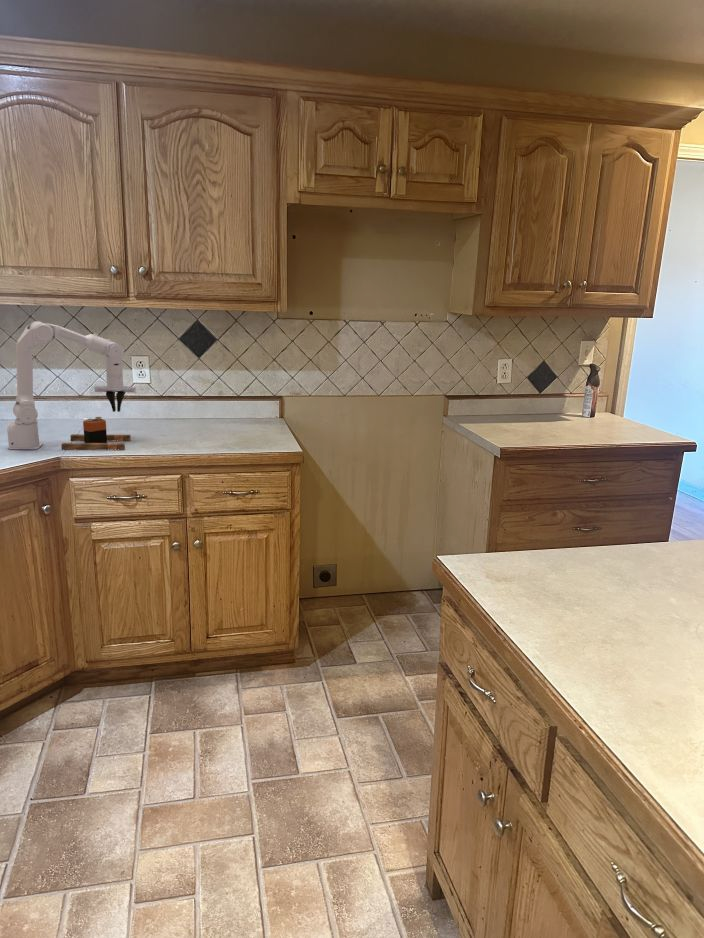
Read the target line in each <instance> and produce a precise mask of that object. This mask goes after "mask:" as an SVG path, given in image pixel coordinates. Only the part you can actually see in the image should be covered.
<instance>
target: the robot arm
mask: <svg viewBox="0 0 704 938" xmlns="http://www.w3.org/2000/svg"><path fill="white" fill-rule="evenodd" d="M60 338H63V339H67V340H68V341H72V342H75V343H78V344H82V345H83V347H84V349H85V350H88V351H90V352H94V353H97V354H99V355H102V356H103V355H104V356H105V371H106V372H105V373H106V385H97V386H96V385H95V386H94V389H93V390H94V393H106V394H105V395H106V398H107V399H108V401H109V403H110V406H111V409H112V412H114V413H115V412H116V411H117V413H120V412H121V407H122V403H123V399H124V397H125V395H126V393H133V394H136V392H137V386H127V385H124V372H123V357H124V354H125V350H124V348H123V346H122V345H121V344H119V343H118V342H114V341H113V340H111V339H109V338H107V339H106V338H103V337H100V336H99V334H97V333H93V334H92V333H89V334H87V335H83V334H82V333H79V332H77V331H73V330H72V329H71V330H70V329H68V328H66V327H63V326H60V325H56V324H53V323H52V324H51V323H48V322H47V323H46V322H45V323H44V322H43V321H39V320H36V321H32V322H31V323H30V324H28V325H26V326H25V328H24V331H23V332H22V333H21V335H20V336H19V337H18V340H17V341H16V343H15V347H16V352H15V353H16V385H17V386H16V391H17V394H16V397H15V403H14V406H13V408H12V411H13V412H12V413H13V415H15V417H16V418H15V420H14V421H12V422H8V424H7V430H6V431H7V439H8V440H7V441H8V450H38V449H40V447H42V446H43V444H44V442H40V437H39V436H40V435H39V424H38V423H39V422H38V416H39V414H38V410H37V409H36V406H35V405H36V404H35V400H34V381H33V380H34V379H33V369H34V368H33V351H34V350H35V349H36V348H38V347H39V346H40V345H42V344H45V343H48V342H50V341H52V339H55V340H56V339H60ZM115 399H116V400H115Z"/></svg>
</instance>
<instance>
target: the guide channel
mask: <svg viewBox="0 0 704 938" xmlns="http://www.w3.org/2000/svg"><path fill="white" fill-rule="evenodd" d="M69 437H70V442H62V443H61V450H63V449H64V450H65V451H88V450H89V449H92V450H91V451H94V450H93V449H106V450H105V451H111V450H110V449H113V450H112V451H125V449H126V447H125V445H126V444H125V443H123V442H131V434H107V440H116V441H115V443H114V442H107V443H84V433H81V434H79V433H77V434H75V433H74V434H70V436H69ZM75 440H80V441H79V442H76V441H75ZM117 440H118V441H117ZM118 442H120V443H118ZM74 449H76V450H74ZM108 449H109V450H108ZM115 449H116V450H115ZM118 449H119V450H118ZM64 450H63V451H64ZM89 451H90V450H89Z"/></svg>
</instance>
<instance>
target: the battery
mask: <svg viewBox="0 0 704 938" xmlns="http://www.w3.org/2000/svg"><path fill="white" fill-rule="evenodd" d="M82 424H83V425H82V426H83V434H84V441H83V443H108V441H107V435H108V434H107V420H106V419H102V416H95V417H94V418H90V417H89V418H87V419H86V420H83V421H82Z"/></svg>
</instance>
